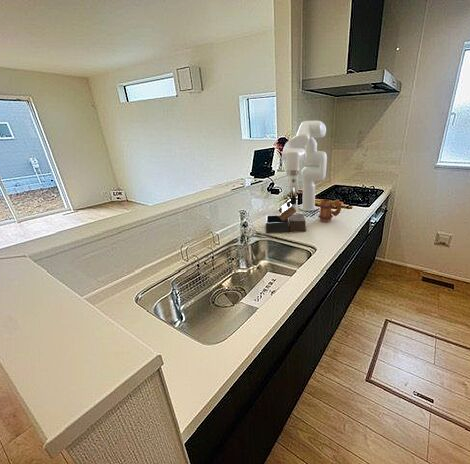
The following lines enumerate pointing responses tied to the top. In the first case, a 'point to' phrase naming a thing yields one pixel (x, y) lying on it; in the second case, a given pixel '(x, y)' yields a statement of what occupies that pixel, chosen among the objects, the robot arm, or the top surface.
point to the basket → (276, 224)
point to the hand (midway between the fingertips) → (292, 202)
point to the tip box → (287, 211)
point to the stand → (297, 223)
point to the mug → (329, 209)
